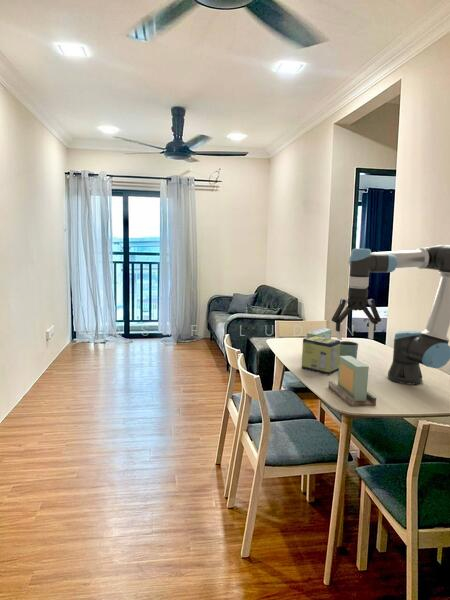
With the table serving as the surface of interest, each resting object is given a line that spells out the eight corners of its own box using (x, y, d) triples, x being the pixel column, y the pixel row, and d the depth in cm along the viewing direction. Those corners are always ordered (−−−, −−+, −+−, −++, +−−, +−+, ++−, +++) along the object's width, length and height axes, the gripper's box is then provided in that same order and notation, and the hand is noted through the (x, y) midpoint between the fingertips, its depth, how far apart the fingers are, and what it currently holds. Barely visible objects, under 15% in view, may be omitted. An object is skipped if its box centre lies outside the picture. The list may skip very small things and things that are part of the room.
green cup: (357, 369, 218) (359, 346, 217) (337, 367, 220) (338, 344, 219) (355, 363, 228) (357, 341, 227) (336, 362, 230) (337, 340, 228)
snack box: (314, 362, 229) (315, 334, 227) (304, 360, 233) (306, 332, 231) (330, 354, 246) (332, 328, 244) (321, 352, 249) (322, 327, 247)
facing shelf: (350, 386, 191) (351, 380, 190) (375, 405, 169) (376, 398, 169) (327, 387, 189) (328, 380, 189) (350, 406, 168) (350, 399, 167)
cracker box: (366, 400, 172) (368, 366, 170) (353, 400, 171) (356, 366, 169) (348, 387, 187) (350, 355, 186) (337, 387, 187) (339, 355, 185)
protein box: (310, 364, 224) (312, 335, 222) (338, 370, 215) (340, 340, 213) (300, 368, 216) (302, 338, 214) (329, 375, 207) (331, 343, 205)
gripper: (382, 286, 179) (378, 336, 182) (325, 286, 175) (322, 337, 178) (392, 288, 171) (388, 340, 174) (332, 288, 167) (329, 341, 170)
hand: (355, 339), depth 176 cm, fingers open, 13 cm apart
